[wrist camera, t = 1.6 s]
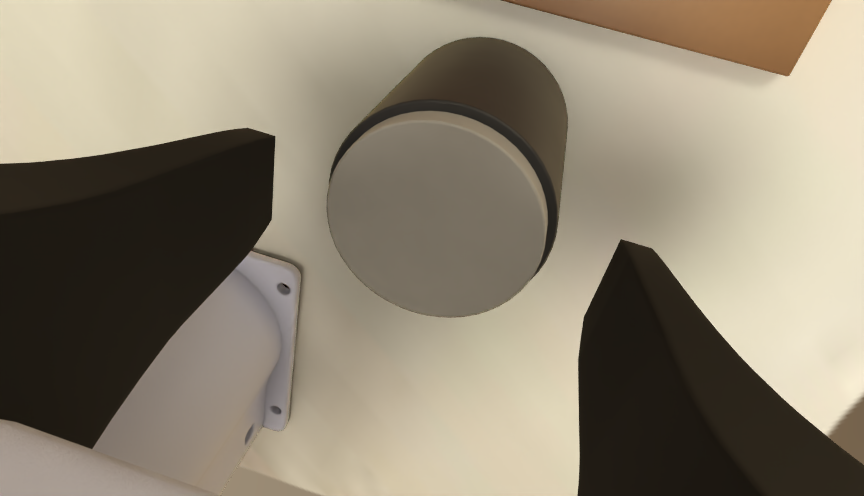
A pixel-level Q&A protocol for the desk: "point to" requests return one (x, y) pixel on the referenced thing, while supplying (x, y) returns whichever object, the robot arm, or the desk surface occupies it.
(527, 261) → the thermos cap
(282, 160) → the desk surface
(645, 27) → the brown wooden board
